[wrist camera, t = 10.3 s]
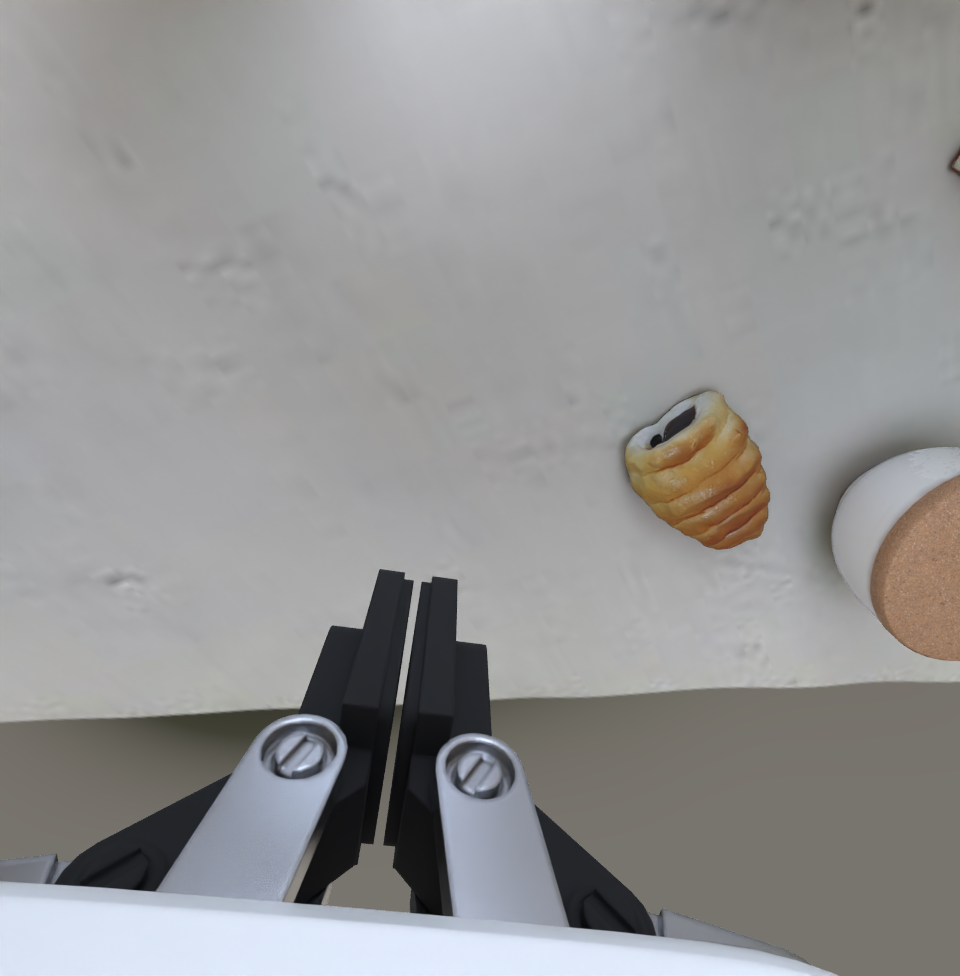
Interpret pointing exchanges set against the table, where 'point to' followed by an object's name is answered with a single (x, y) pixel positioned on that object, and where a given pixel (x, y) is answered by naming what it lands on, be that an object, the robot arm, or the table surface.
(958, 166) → the gift box
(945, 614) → the trinket box
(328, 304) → the table surface
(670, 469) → the pastry
